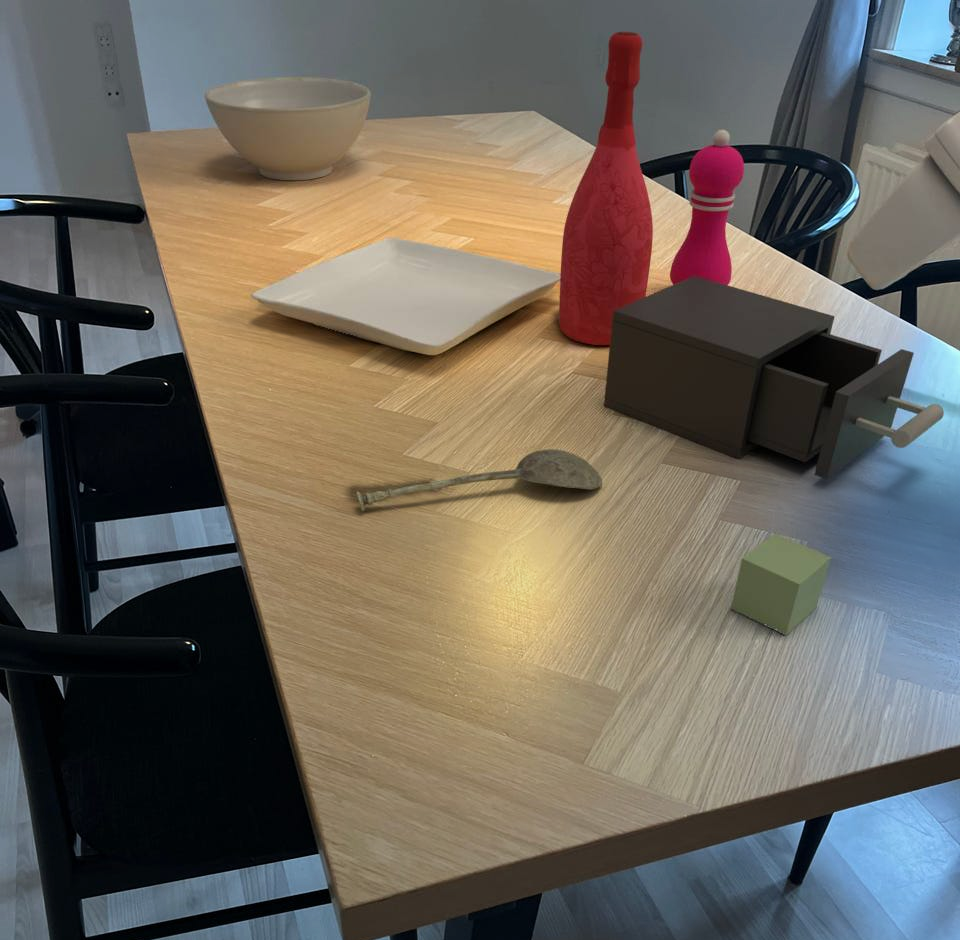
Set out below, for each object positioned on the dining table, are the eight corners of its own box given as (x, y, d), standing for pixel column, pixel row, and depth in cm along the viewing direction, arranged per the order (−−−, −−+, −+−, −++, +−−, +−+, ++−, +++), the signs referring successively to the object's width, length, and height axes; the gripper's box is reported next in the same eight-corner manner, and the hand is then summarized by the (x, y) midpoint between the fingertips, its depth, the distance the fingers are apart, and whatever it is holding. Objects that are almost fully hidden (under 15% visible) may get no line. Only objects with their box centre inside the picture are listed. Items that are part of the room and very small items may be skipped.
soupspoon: (612, 503, 86) (586, 470, 91) (617, 468, 84) (590, 436, 89) (364, 528, 80) (351, 492, 86) (362, 491, 78) (349, 456, 84)
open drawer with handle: (941, 449, 91) (969, 368, 86) (880, 500, 83) (906, 415, 78) (755, 385, 101) (771, 310, 96) (687, 426, 94) (699, 346, 89)
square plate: (565, 302, 121) (567, 270, 119) (437, 379, 103) (437, 343, 101) (391, 260, 133) (390, 230, 130) (249, 322, 115) (245, 289, 112)
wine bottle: (619, 356, 109) (652, 43, 90) (541, 337, 112) (557, 33, 93) (655, 328, 115) (693, 30, 96) (580, 310, 119) (603, 21, 100)
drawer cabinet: (811, 411, 99) (835, 316, 92) (738, 459, 91) (759, 358, 84) (680, 365, 107) (694, 275, 101) (603, 406, 99) (612, 310, 93)
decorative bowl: (376, 152, 179) (372, 76, 171) (373, 192, 158) (368, 108, 150) (228, 152, 177) (217, 76, 170) (205, 193, 157) (192, 109, 149)
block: (816, 608, 73) (831, 557, 70) (785, 635, 70) (799, 584, 68) (762, 583, 75) (774, 532, 73) (730, 609, 73) (741, 558, 70)
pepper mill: (731, 305, 121) (762, 126, 108) (716, 325, 116) (748, 140, 103) (674, 296, 123) (699, 120, 111) (658, 315, 118) (681, 133, 106)
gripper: (1079, 60, 67) (927, 207, 79) (927, 129, 57) (779, 285, 69) (1138, 131, 66) (976, 268, 78) (995, 213, 56) (834, 355, 68)
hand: (883, 276), depth 74 cm, fingers closed
